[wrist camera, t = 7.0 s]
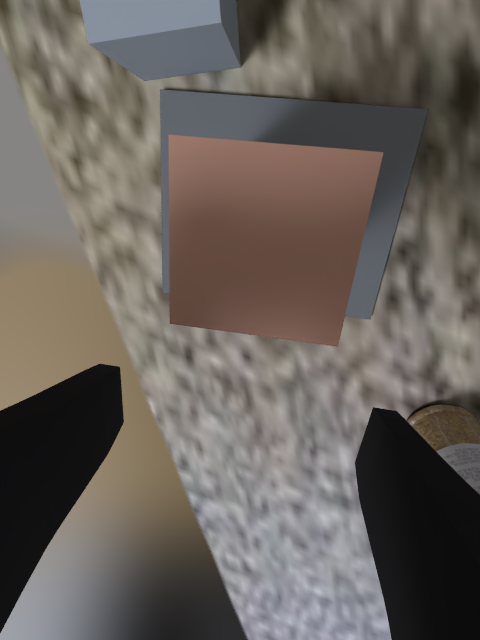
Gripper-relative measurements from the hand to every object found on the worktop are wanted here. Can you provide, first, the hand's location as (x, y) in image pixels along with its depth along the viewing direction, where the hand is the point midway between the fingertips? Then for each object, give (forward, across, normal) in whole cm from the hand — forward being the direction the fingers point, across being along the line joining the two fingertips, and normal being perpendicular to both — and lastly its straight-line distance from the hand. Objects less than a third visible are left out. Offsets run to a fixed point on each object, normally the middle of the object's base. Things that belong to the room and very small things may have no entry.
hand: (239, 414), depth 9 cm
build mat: (+10, 0, -4) cm, 11 cm away
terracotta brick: (+5, 0, -5) cm, 7 cm away
